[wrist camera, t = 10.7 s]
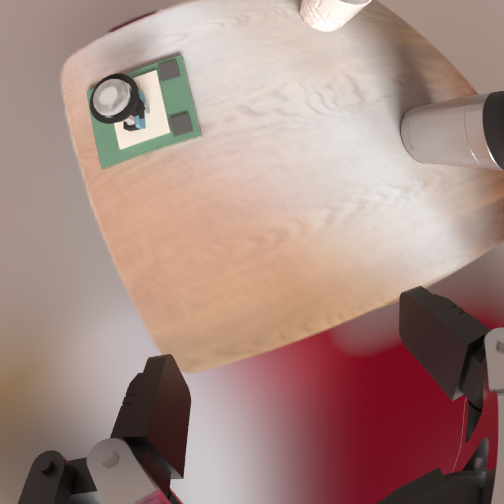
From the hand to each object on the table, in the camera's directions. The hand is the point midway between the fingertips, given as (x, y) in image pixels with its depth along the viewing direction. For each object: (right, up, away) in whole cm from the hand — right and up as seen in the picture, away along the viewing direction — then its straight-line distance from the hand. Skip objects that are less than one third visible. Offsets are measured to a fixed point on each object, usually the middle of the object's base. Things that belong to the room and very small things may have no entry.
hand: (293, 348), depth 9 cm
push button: (-16, +21, +22) cm, 34 cm away
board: (-16, +22, +24) cm, 36 cm away
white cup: (+9, +38, +21) cm, 44 cm away
